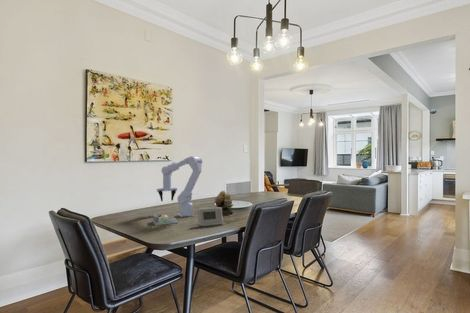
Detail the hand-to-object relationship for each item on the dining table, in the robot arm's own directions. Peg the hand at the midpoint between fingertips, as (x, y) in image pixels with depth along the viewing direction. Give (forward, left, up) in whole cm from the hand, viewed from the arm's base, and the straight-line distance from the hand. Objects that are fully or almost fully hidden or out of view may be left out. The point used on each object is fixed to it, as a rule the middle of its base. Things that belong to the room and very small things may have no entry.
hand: (166, 200), depth 215 cm
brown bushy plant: (-40, +14, -10) cm, 43 cm away
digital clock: (-18, +44, -10) cm, 49 cm away
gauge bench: (+7, +26, -9) cm, 29 cm away
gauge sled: (+8, +26, -8) cm, 28 cm away
